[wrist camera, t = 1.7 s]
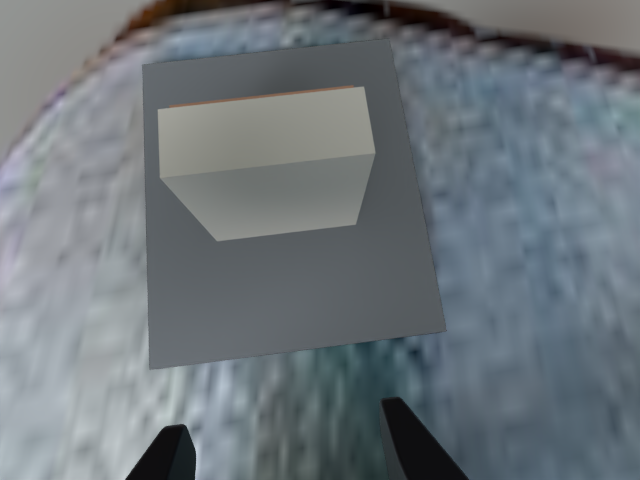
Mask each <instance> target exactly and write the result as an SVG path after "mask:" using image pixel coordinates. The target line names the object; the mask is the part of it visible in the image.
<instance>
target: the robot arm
mask: <svg viewBox="0 0 640 480" xmlns="http://www.w3.org/2000/svg"><path fill="white" fill-rule="evenodd" d="M379 406H380V431H381V438H382V443H383V448H384V454H385V459H386V464H387V469H388V475H389V480H469V479H468V477H467V476H466V475H465V474H464V473H463V471H462V470H461V469H460V468H459V467H458V465H457V464H456V463H455V462H454V461H453V459H452V458H451V457H450V456H449V455H448V453H447V452H446V451H445V450H444V449H443V447H442V446H441V445H440V444H439V443H438V442H437V440H436V439H435V438H434V437H433V436H432V434H431V433H430V432H429V431H428V430H427V428H426V427H425V426H424V425H423V424H422V422H421V421H420V420H419V419H418V418H417V416H416V415H415V414H414V413H413V412H412V410H411V409H410V408H409V407H408V406H407V404H406V403H405V402H404V401H403V400H402V399H401V398H400V397H390V398H383V399H381V400H380V403H379ZM195 470H196V451H195V447H194V445H193V442H192V439H191V437H190V434H189V431H188V429H187V427H186V426H185V425H184V424H179V425H171V426H166V427H164V428H163V429H162V430H161V431H160V432H159V434H158V435H157V436H156V438H155V439H154V441H153V442H152V443H151V445H150V446H149V447H148V449H147V450H146V452H145V453H144V454H143V456H142V457H141V458H140V460H139V461H138V463H137V464H136V465H135V467H134V468H133V469H132V471H131V472H130V474H129V475H128V476H127V478H126V479H125V480H195Z"/></svg>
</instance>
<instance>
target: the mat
mask: <svg viewBox="0 0 640 480" xmlns="http://www.w3.org/2000/svg"><path fill="white" fill-rule="evenodd" d="M142 71H143V113H144V156H145V198H146V241H147V283H148V326H149V369H150V370H151V369H161V368H169V367H177V366H184V365H192V364H200V363H207V362H215V361H223V360H231V359H238V358H246V357H254V356H262V355H269V354H277V353H285V352H292V351H300V350H308V349H316V348H323V347H331V346H339V345H346V344H354V343H362V342H370V341H377V340H385V339H393V338H401V337H408V336H416V335H424V334H431V333H439V332H445V331H447V330H446V325H445V320H444V315H443V310H442V305H441V299H440V294H439V289H438V284H437V279H436V274H435V269H434V264H433V259H432V254H431V249H430V244H429V238H428V233H427V228H426V223H425V218H424V213H423V208H422V203H421V198H420V193H419V188H418V183H417V178H416V172H415V167H414V162H413V157H412V152H411V147H410V142H409V137H408V132H407V127H406V122H405V117H404V111H403V106H402V101H401V96H400V91H399V86H398V81H397V76H396V71H395V66H394V61H393V56H392V50H391V45H390V40H389V38H387V39H378V40H368V41H359V42H350V43H340V44H331V45H322V46H312V47H303V48H294V49H284V50H275V51H265V52H256V53H247V54H237V55H228V56H219V57H209V58H200V59H191V60H181V61H172V62H162V63H153V64H144V65H142ZM350 85H353V86H354V88H355V87H364V89H365V95H366V101H367V107H368V112H369V118H370V124H371V130H372V135H373V141H374V147H375V157H374V161H373V164H372V168H371V172H370V175H369V179H368V182H367V186H366V190H365V193H364V197H363V201H362V204H361V208H360V211H359V215H358V219H357V222H356V225H349V226H340V227H332V228H324V229H315V230H307V231H299V232H290V233H282V234H274V235H266V236H257V237H249V238H241V239H232V240H224V241H216V240H215V238H214V237H213V236H212V235H211V234H210V233H209V232H208V231H207V230H206V228H205V227H204V226H203V225H202V224H201V223H200V222H199V221H198V220H197V218H196V217H195V216H194V215H193V214H192V213H191V212H190V211H189V210H188V209H187V207H186V206H185V205H184V204H183V203H182V202H181V201H180V200H179V199H178V197H177V196H176V195H175V194H174V193H173V192H172V191H171V190H170V189H169V188H168V186H167V185H166V184H165V183H164V182H163V181H162V180H161V179H160V165H159V134H158V109H165V108H169V105H178V104H187V103H196V102H205V101H214V100H223V99H232V98H241V97H250V96H259V95H269V94H278V93H287V92H296V91H305V90H314V89H323V88H332V87H341V86H350Z"/></svg>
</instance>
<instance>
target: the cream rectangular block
mask: <svg viewBox="0 0 640 480" xmlns="http://www.w3.org/2000/svg"><path fill="white" fill-rule="evenodd" d="M158 134H159V165H160V179H161V180H162V181H163V182H164V183H165V184H166V185H167V186H168V188H169V189H170V190H171V191H172V192H173V193H174V194H175V195H176V196H177V197H178V199H179V200H180V201H181V202H182V203H183V204H184V205H185V206H186V207H187V209H188V210H189V211H190V212H191V213H192V214H193V215H194V216H195V217H196V218H197V220H198V221H199V222H200V223H201V224H202V225H203V226H204V227H205V228H206V230H207V231H208V232H209V233H210V234H211V235H212V236H213V237H214V238H215V240H216V241H224V240H232V239H241V238H249V237H257V236H266V235H274V234H282V233H290V232H299V231H307V230H315V229H324V228H332V227H340V226H349V225H356V222H357V219H358V215H359V211H360V208H361V204H362V201H363V197H364V193H365V190H366V186H367V182H368V179H369V175H370V172H371V168H372V164H373V161H374V157H375V147H374V141H373V135H372V130H371V124H370V118H369V112H368V107H367V101H366V95H365V89H364V87H355V88H354V86H353V85H350V86H341V87H332V88H323V89H314V90H305V91H296V92H287V93H278V94H269V95H259V96H250V97H241V98H232V99H223V100H214V101H205V102H196V103H187V104H178V105H169V108H165V109H158Z"/></svg>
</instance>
